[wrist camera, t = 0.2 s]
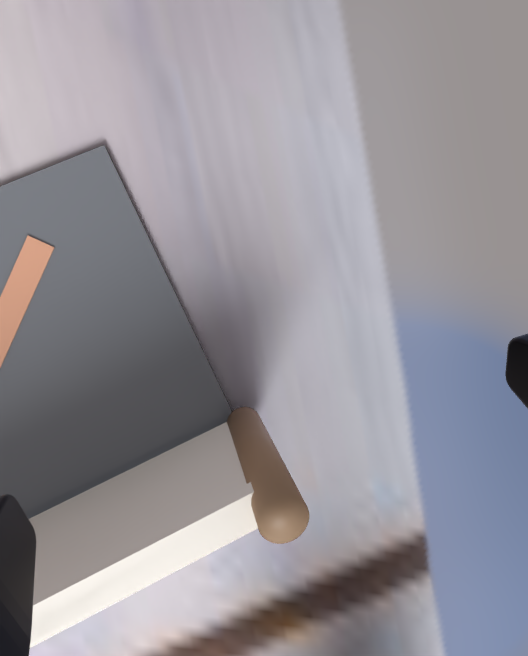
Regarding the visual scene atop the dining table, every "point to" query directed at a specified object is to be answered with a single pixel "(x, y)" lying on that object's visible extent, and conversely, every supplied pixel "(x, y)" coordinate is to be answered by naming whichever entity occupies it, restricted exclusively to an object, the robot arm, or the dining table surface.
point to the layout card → (89, 338)
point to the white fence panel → (161, 521)
